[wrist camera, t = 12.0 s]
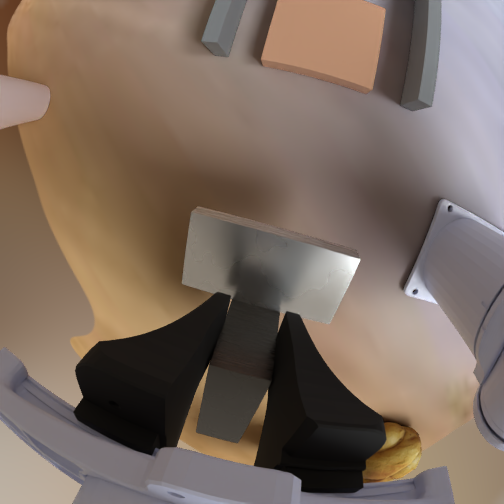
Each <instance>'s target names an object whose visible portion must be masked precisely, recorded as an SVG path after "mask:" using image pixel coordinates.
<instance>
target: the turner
mask: <svg viewBox="0 0 504 504" xmlns="http://www.w3.org/2000/svg"><path fill="white" fill-rule="evenodd" d="M360 260H361V259H360V257H359V255H358V253H357V250H354V249H351V248H348V247H344V246H341V245H338V244H334V243H331V242H328V241H324V240H321V239H318V238H314V237H311V236H307V235H304V234H300V233H297V232H293V231H290V230H286V229H283V228H279V227H276V226H272V225H268V224H265V223H261V222H258V221H254V220H250V219H246V218H243V217H239V216H235V215H231V214H228V213H224V212H220V211H216V210H212V209H208V208H205V207H201V206H198V207H196V208H195V209H194V210H193V211H192V212H191V217H190V224H189V230H188V237H187V245H186V252H185V260H184V269H183V277H182V284H183V285H187V286H190V287H193V288H196V289H200V290H203V291H206V292H210V293H213V294H215V293H216V292H221V293H225V294H228V295H231V299H232V302H231V305H230V307H229V310H228V313H227V316H226V319H225V323H224V325H223V328H222V331H221V333H220V336H219V338H218V341H217V344H216V347H215V350H214V353H213V355H212V358H211V361H210V364H209V368H208V373H207V378H206V383H205V388H204V393H203V398H202V403H201V408H200V413H199V418H198V424H197V429H196V432H197V433H200V434H204V435H207V436H211V437H214V438H218V439H222V440H226V441H230V442H234V443H238V442H239V440H240V439H241V437H242V435H243V433H244V432H245V430H246V428H247V426H248V425H249V423H250V421H251V419H252V418H253V416H254V414H255V412H256V410H257V408H258V407H259V405H260V403H261V401H262V399H263V397H264V395H265V393H266V392H267V390H268V388H269V386H270V384H271V382H272V377H273V369H274V360H275V347H276V339H277V334H278V324H279V315H280V312H281V313H286V311H289V312H293V313H297V314H300V316H301V318H305V319H309V320H313V321H318V322H322V323H326V324H330V322H331V320H332V318H333V316H334V314H335V312H336V310H337V308H338V306H339V304H340V302H341V300H342V298H343V296H344V294H345V292H346V290H347V288H348V286H349V284H350V282H351V280H352V277H353V275H354V273H355V271H356V269H357V266H358V264H359V262H360Z"/></svg>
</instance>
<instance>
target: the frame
mask: <svg viewBox="0 0 504 504" xmlns="http://www.w3.org/2000/svg"><path fill="white" fill-rule="evenodd" d="M246 1H247V0H216V1H215V3H214V6H213V9H212V11H211V14H210V17H209V20H208V23H207V25H206V28H205V31H204V34H203V37H202V40H201V42H202V43H203V44H204V45H205V46H206V47H207V48H208V49H209V50H210V51H211V52H212V53H213V54H214V55H215V56H225V57H229V53H230V50H231V47H232V44H233V40H234V37H235V34H236V31H237V28H238V25H239V22H240V19H241V16H242V13H243V10H244V7H245V4H246ZM440 36H441V0H415V5H414V18H413V29H412V38H411V46H410V53H409V60H408V66H407V72H406V78H405V83H404V89H403V94H402V99H401V103H400V106H402V107H405V108H407V109H409V110H411V111H415V110H419V109H424V108H428V107H432V102H433V97H434V90H435V84H436V77H437V69H438V60H439V50H440Z"/></svg>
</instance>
